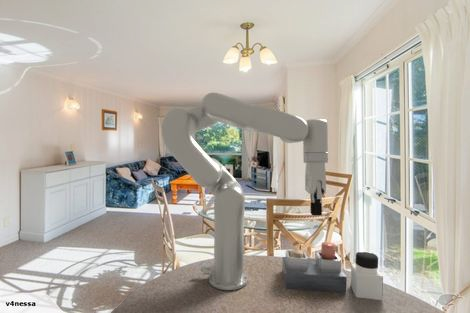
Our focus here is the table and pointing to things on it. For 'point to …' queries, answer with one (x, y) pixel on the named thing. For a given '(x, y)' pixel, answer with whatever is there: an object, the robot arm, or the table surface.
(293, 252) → the beige ball
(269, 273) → the table surface
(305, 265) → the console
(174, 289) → the table surface
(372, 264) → the medicine bottle
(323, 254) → the red plunger
